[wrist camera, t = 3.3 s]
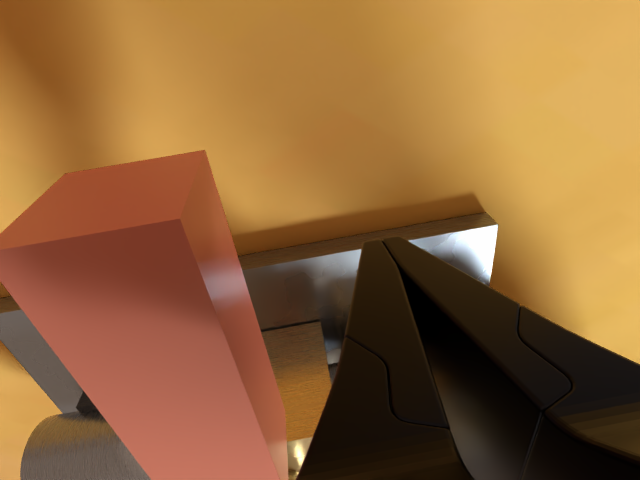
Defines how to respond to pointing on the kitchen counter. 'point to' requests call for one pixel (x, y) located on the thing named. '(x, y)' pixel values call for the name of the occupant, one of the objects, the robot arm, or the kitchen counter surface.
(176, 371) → the lever
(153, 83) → the kitchen counter surface
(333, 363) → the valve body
